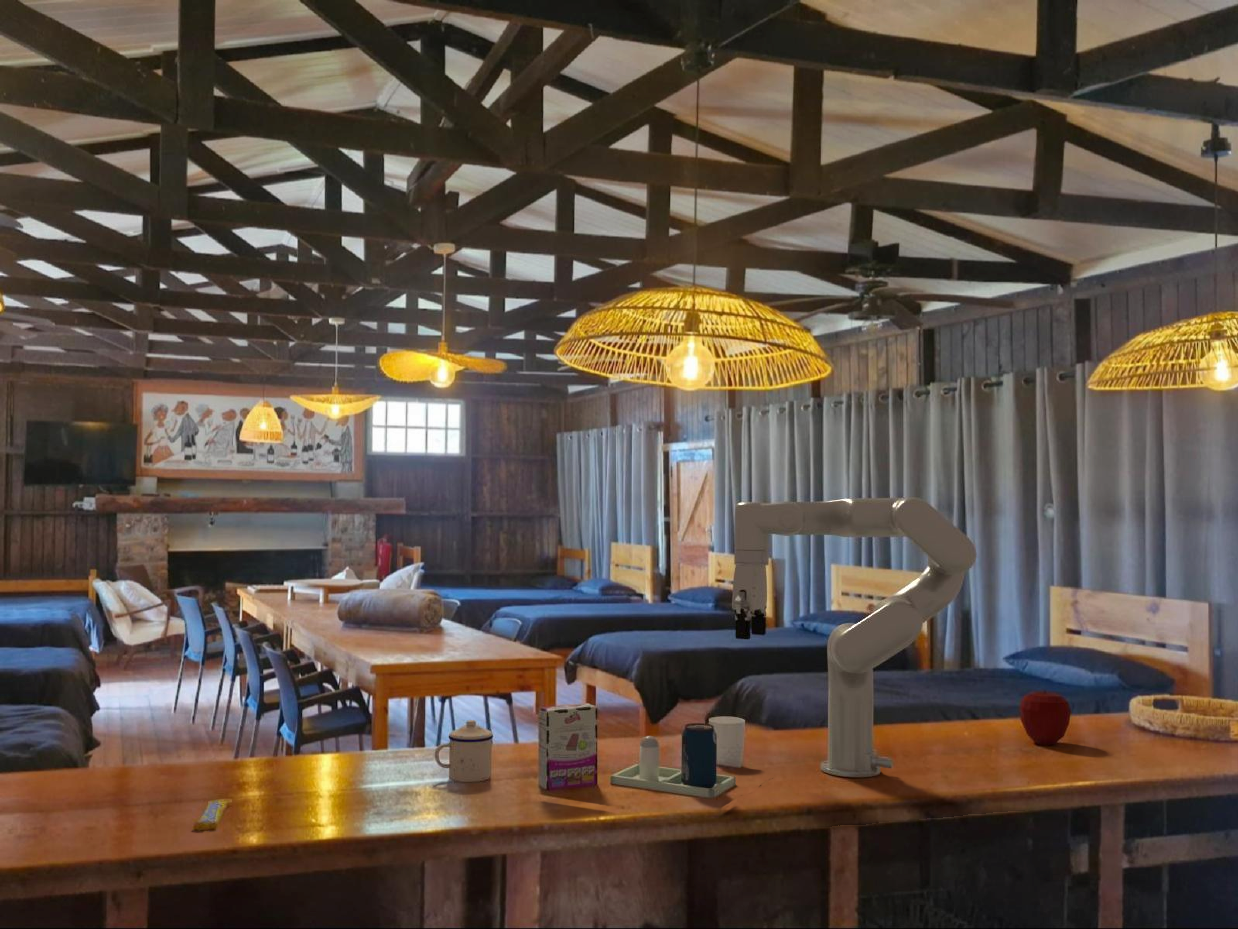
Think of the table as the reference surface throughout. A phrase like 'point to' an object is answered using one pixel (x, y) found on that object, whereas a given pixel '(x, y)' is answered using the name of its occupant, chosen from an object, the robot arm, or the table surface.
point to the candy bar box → (567, 746)
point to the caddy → (670, 782)
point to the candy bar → (212, 814)
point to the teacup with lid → (468, 753)
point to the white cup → (729, 740)
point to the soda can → (699, 755)
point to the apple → (1045, 716)
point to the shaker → (649, 759)
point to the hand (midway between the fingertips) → (750, 636)
